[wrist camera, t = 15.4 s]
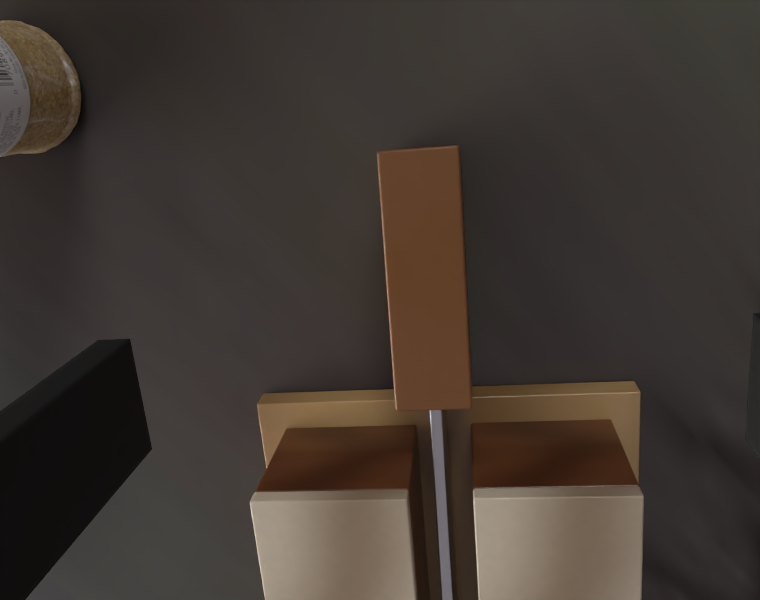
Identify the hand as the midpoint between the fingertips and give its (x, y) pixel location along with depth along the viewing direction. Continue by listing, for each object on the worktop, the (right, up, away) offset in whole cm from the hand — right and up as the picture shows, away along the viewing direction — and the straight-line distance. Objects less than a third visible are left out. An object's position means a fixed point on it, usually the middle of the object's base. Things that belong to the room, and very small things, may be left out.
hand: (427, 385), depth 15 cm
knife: (+1, -4, +12) cm, 12 cm away
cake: (+2, -8, +14) cm, 16 cm away
